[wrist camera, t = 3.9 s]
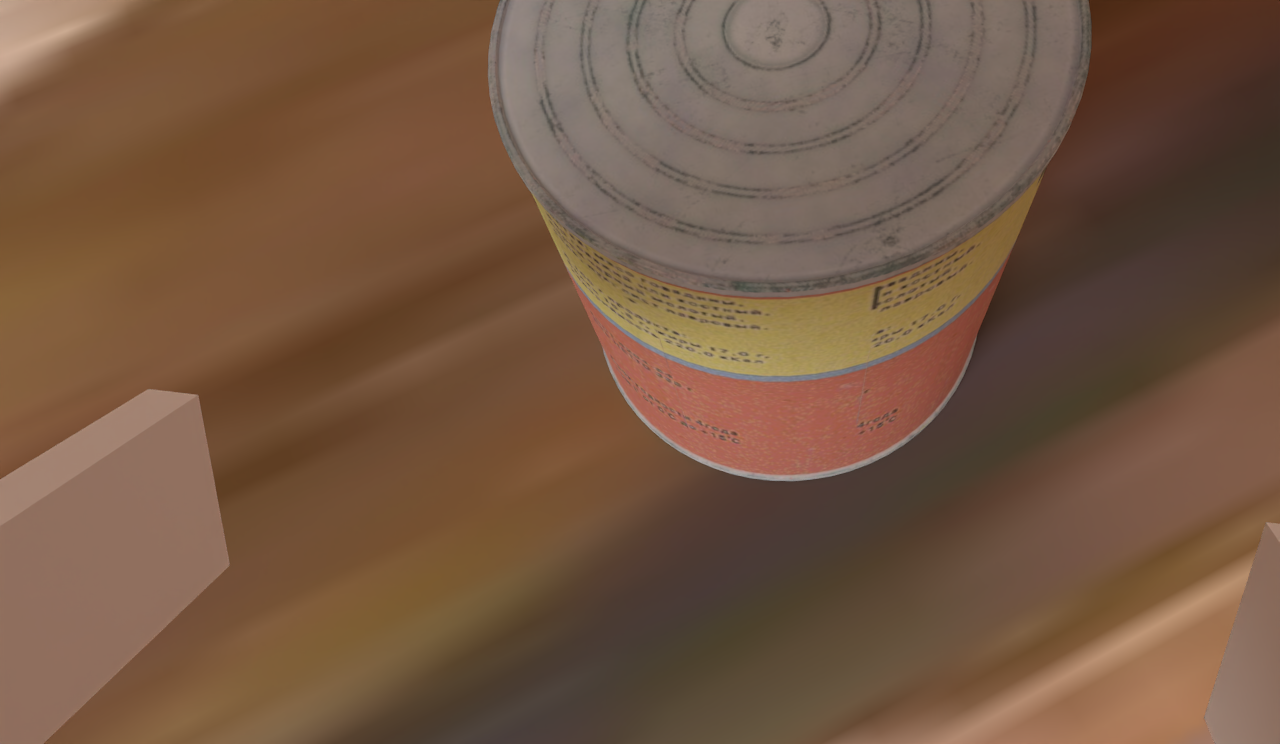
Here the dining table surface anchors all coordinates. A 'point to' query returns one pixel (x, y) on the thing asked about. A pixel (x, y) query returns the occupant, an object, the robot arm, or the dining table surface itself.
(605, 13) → the canned food
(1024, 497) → the dining table surface
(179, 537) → the robot arm
